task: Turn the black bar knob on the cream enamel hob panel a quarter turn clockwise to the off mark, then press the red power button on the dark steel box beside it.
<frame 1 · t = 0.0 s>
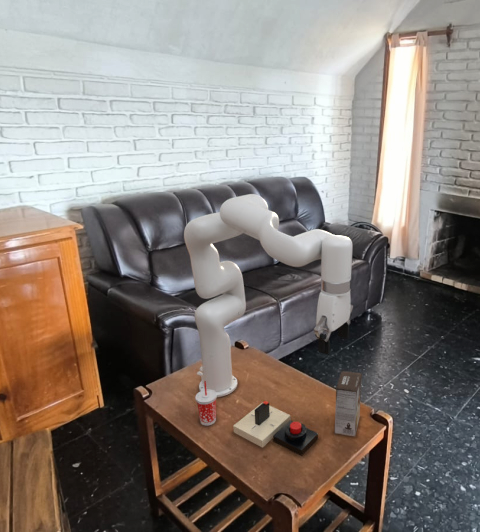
hand: (333, 344, 116), 31 cm above the table, tool pointing down, fingers open, 9 cm apart
power box: (295, 440, 126), on the table
hob panel: (262, 427, 131), on the table
coffee box: (347, 425, 133), on the table
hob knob: (262, 412, 129), point 5 cm above the table, hinge at 90.0°
beverage cup: (208, 421, 133), on the table
power button: (295, 427, 124), point 5 cm above the table, slide at 0.2 cm
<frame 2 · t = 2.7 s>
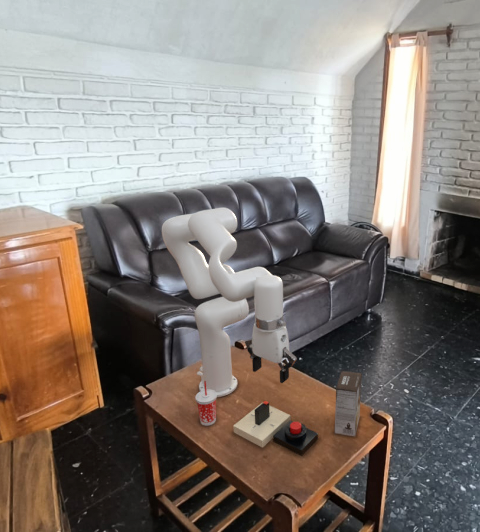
hand: (270, 375, 124), 19 cm above the table, tool pointing down, fingers open, 9 cm apart
nothing on the table moved.
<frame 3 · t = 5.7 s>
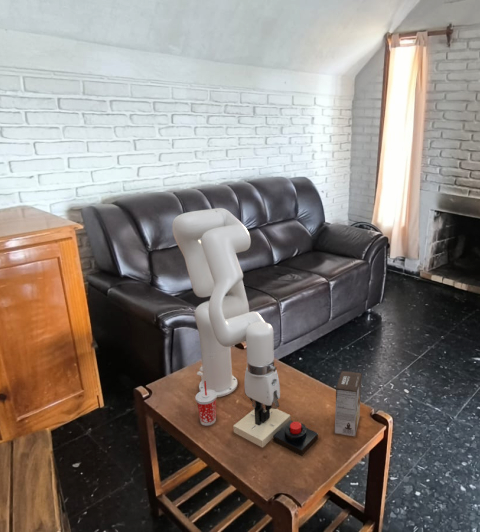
hand: (262, 418, 130), 3 cm above the table, tool pointing down, fingers closed on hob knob
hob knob: (262, 412, 129), point 5 cm above the table, hinge at 90.0°, touching gripper
everything else where it was.
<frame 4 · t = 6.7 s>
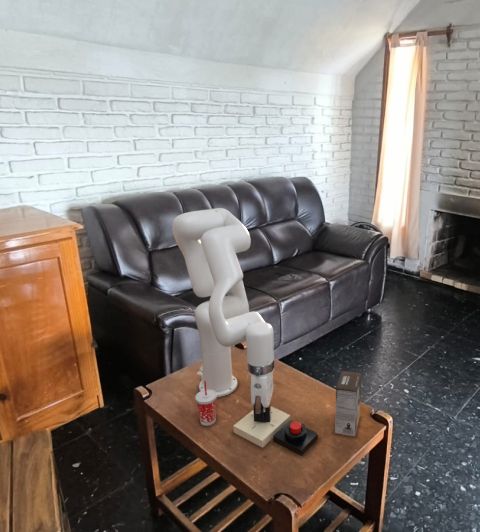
hand: (262, 418, 130), 3 cm above the table, tool pointing down, fingers closed, pressing on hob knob
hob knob: (262, 412, 129), point 5 cm above the table, hinge at 29.9°, touching gripper
everything else where it was.
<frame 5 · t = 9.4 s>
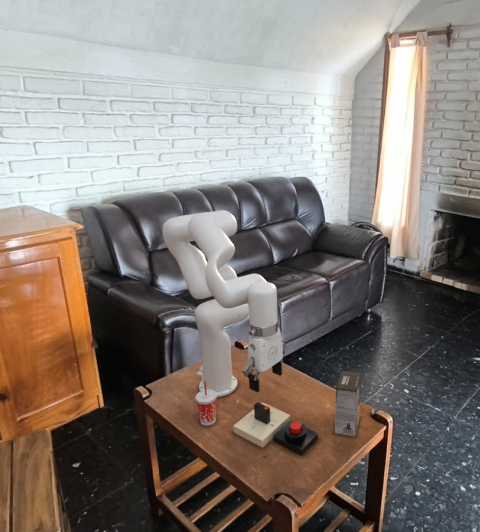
hand: (266, 381, 124), 17 cm above the table, tool pointing down, fingers open, 9 cm apart
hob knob: (262, 412, 129), point 5 cm above the table, hinge at 0.2°
everything else where it was.
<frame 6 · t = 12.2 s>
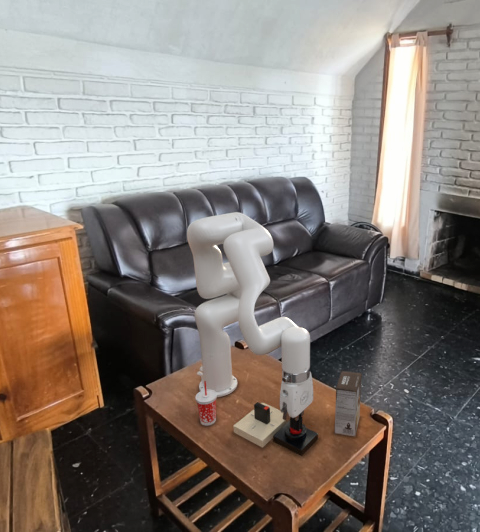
hand: (296, 427, 124), 5 cm above the table, tool pointing down, fingers closed
power button: (295, 430, 125), point 4 cm above the table, slide at -0.6 cm, touching gripper
everything else where it was.
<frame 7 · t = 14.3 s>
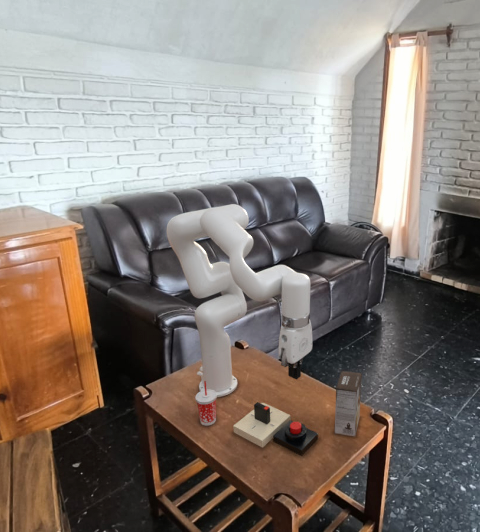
hand: (294, 376, 124), 18 cm above the table, tool pointing down, fingers closed
power button: (295, 427, 124), point 5 cm above the table, slide at 0.2 cm
everything else where it was.
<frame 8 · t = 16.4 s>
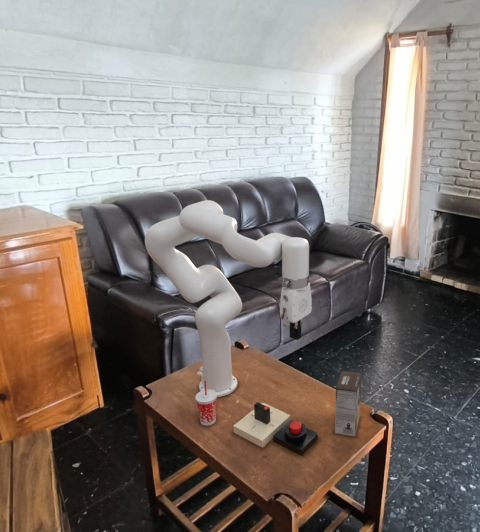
hand: (295, 337, 131), 25 cm above the table, tool pointing down, fingers closed
nothing on the table moved.
at the end: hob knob at +0° (first picture: +90°); power button pushed in 1.1 cm at the most during the clip, back to 0.2 cm at the end; power button slide at 0.2 cm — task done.
